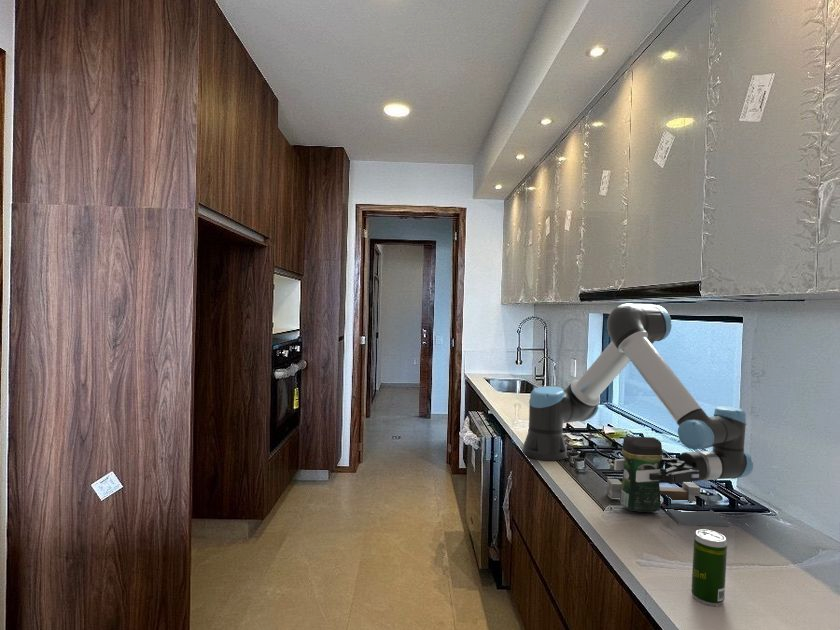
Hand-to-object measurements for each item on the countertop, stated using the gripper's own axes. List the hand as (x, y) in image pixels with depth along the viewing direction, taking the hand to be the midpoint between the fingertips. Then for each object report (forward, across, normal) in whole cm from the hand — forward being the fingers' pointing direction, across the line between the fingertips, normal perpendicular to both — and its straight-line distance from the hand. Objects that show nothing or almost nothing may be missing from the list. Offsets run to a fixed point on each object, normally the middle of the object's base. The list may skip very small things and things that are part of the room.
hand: (625, 470), depth 139 cm
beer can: (+10, -38, -11) cm, 41 cm away
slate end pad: (-17, -5, -11) cm, 21 cm away
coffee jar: (-5, 0, -10) cm, 11 cm away
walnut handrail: (-14, +6, -11) cm, 19 cm away
